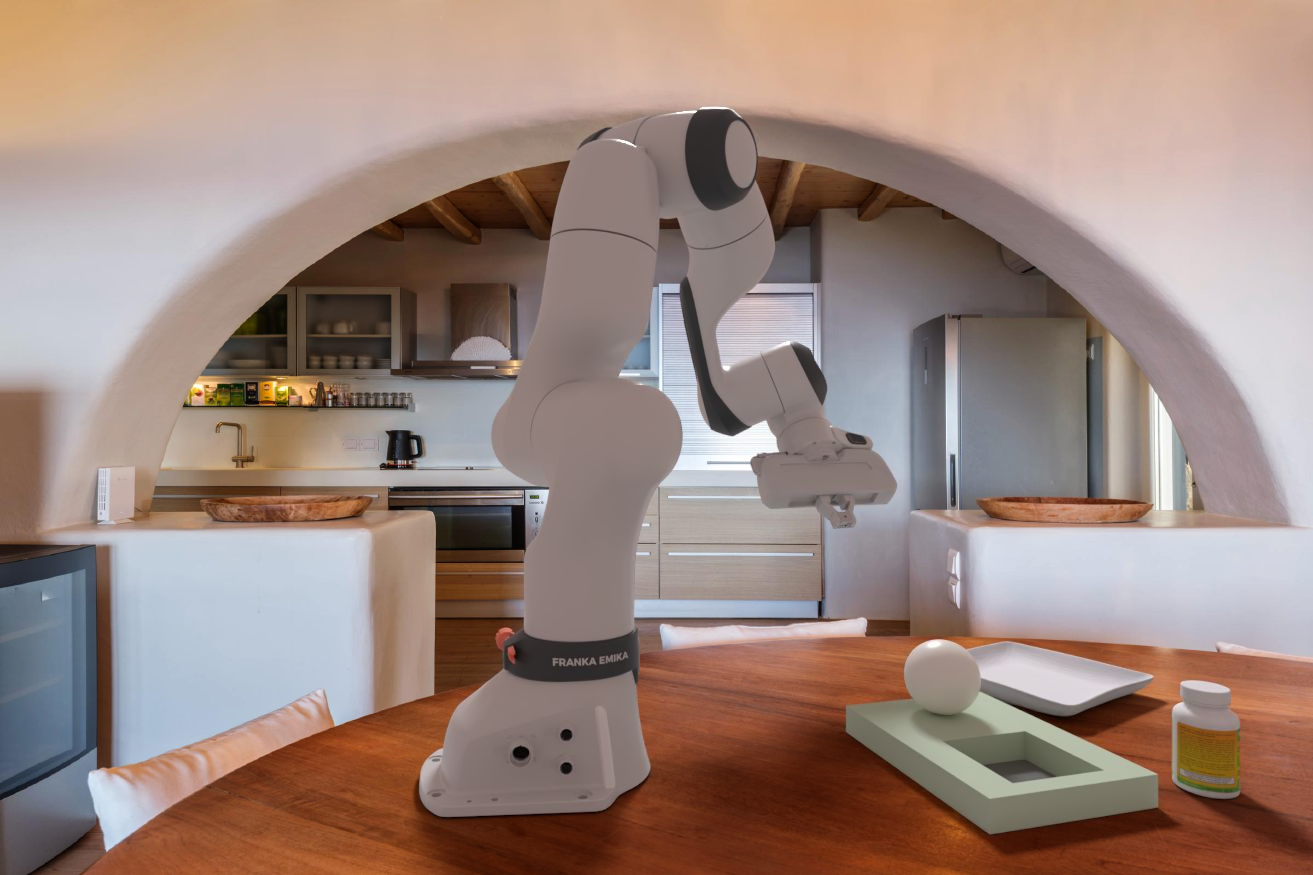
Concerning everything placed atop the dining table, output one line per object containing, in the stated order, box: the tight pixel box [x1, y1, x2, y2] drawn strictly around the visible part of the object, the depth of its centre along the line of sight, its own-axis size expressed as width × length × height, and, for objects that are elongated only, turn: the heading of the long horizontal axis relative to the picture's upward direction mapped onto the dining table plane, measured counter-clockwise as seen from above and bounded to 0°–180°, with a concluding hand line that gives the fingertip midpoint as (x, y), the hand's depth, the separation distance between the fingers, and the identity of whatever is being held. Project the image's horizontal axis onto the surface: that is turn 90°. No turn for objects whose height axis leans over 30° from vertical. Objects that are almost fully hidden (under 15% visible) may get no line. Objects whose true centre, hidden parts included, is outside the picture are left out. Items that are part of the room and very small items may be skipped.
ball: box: [903, 638, 981, 715], centre depth 87 cm, size 8×8×8 cm
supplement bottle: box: [1171, 679, 1241, 800], centre depth 75 cm, size 5×5×10 cm
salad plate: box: [965, 640, 1155, 717], centre depth 105 cm, size 21×21×3 cm
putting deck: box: [845, 692, 1159, 835], centre depth 80 cm, size 18×24×3 cm
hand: (845, 525), depth 108 cm, fingers closed
